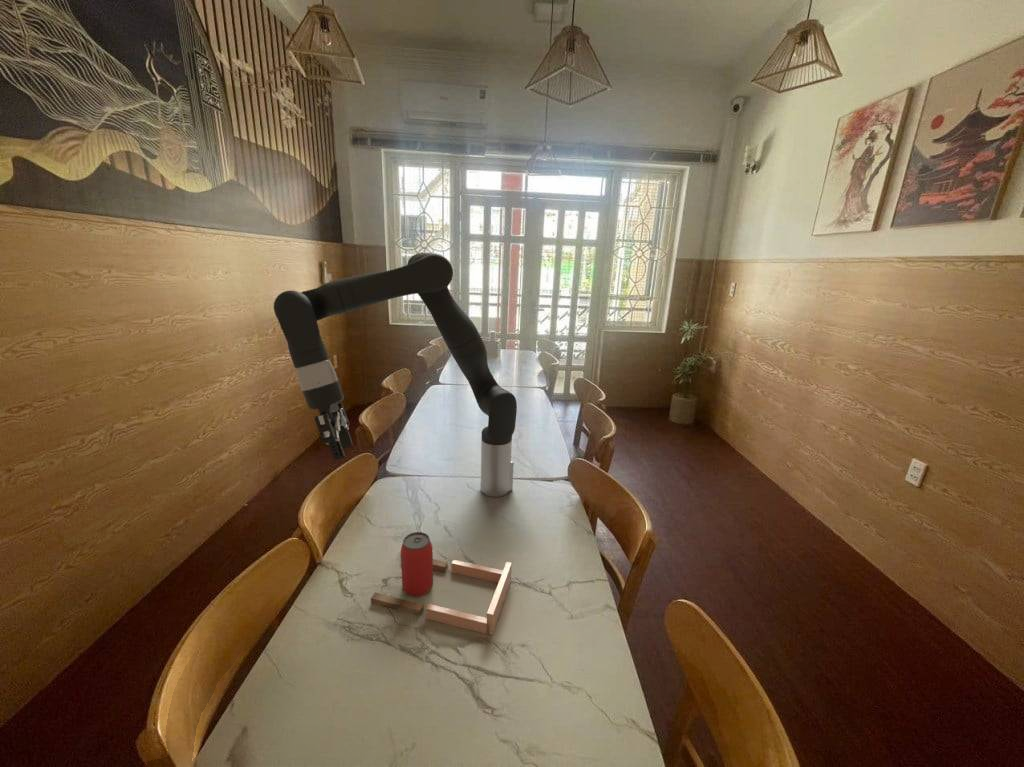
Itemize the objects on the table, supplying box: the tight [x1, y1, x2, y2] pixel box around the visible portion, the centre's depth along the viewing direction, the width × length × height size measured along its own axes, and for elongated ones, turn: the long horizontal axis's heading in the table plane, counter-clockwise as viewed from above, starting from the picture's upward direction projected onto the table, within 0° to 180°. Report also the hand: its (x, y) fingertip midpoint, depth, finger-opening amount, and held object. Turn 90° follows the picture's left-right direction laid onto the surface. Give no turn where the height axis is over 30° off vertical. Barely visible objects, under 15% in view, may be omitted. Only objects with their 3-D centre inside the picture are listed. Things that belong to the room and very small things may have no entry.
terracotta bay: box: [425, 559, 513, 636], centre depth 86 cm, size 14×14×5 cm
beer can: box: [400, 531, 434, 597], centre depth 88 cm, size 7×7×12 cm
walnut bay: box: [370, 558, 449, 617], centre depth 90 cm, size 11×14×2 cm
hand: (344, 452), depth 92 cm, fingers open, 8 cm apart
